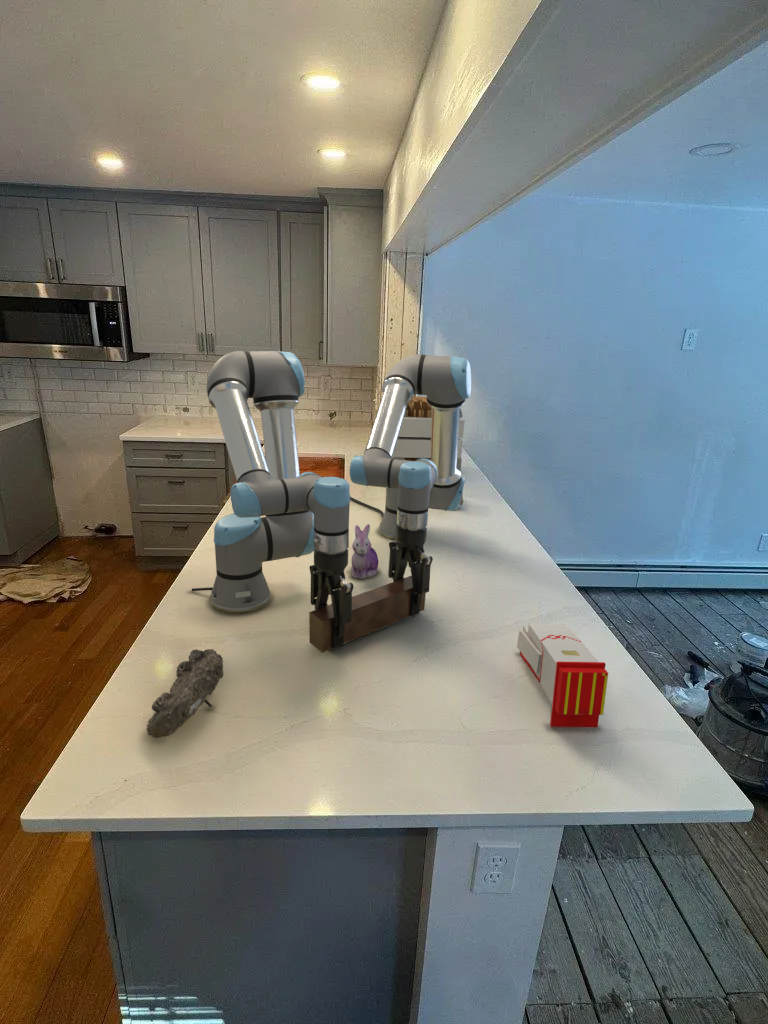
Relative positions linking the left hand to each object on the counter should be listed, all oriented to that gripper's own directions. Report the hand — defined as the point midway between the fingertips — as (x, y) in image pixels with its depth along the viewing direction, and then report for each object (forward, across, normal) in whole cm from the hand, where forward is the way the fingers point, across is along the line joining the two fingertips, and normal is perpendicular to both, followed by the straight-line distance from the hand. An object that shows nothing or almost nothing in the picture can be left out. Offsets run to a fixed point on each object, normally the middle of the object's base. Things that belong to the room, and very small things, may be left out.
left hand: (330, 640), depth 131 cm
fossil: (+2, 0, -33) cm, 33 cm away
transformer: (+1, -96, +122) cm, 155 cm away
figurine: (+2, -26, +31) cm, 41 cm away
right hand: (0, 0, +24) cm, 24 cm away
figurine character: (+2, -54, +100) cm, 114 cm away
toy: (+2, +40, +30) cm, 50 cm away
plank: (0, 0, +12) cm, 12 cm away
